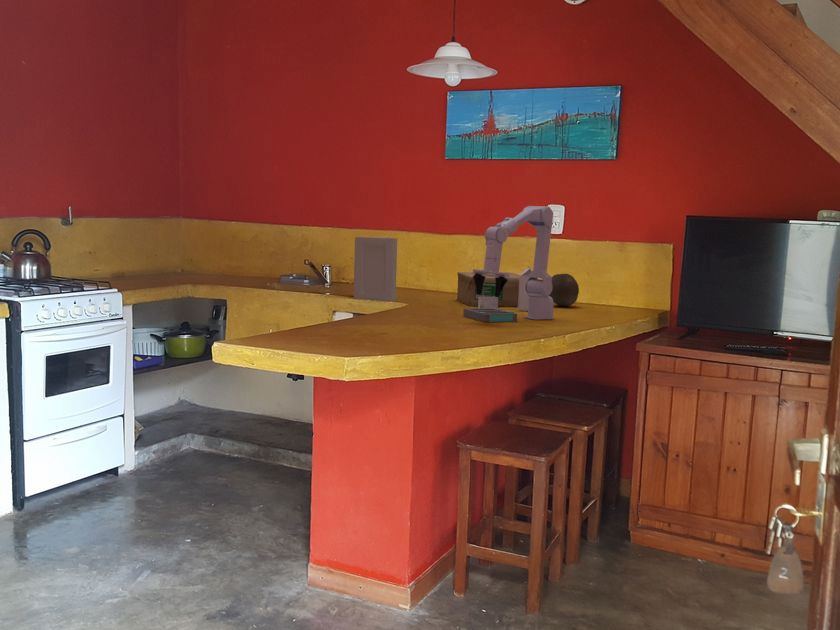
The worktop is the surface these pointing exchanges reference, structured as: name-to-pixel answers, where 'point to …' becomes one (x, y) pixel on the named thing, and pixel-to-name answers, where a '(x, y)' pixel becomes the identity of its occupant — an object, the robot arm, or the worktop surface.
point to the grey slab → (488, 302)
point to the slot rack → (490, 315)
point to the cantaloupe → (564, 290)
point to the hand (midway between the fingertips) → (487, 295)
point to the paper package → (487, 289)
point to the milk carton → (523, 290)
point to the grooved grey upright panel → (375, 268)
